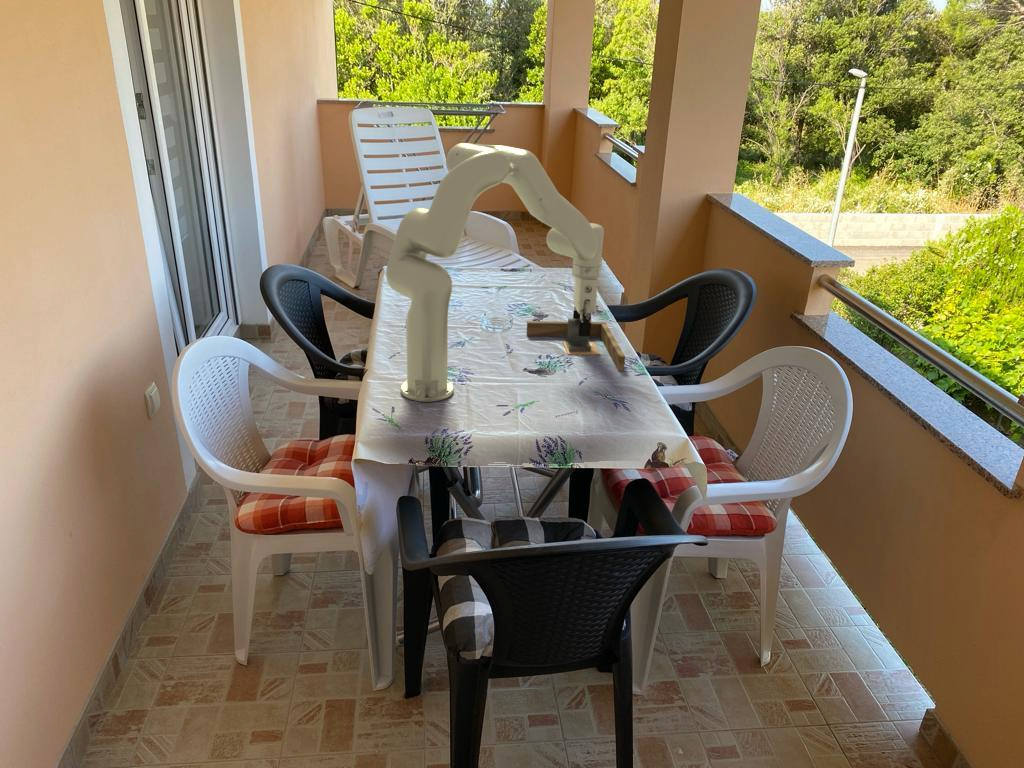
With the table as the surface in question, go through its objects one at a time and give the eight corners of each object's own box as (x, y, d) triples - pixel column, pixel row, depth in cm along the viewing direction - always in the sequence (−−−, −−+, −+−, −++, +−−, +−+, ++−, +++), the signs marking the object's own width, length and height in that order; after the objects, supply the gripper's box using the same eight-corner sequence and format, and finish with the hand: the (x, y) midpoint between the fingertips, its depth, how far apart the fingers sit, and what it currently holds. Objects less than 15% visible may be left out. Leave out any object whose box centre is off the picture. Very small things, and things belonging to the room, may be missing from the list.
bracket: (586, 343, 210) (589, 318, 206) (590, 351, 204) (592, 326, 201) (565, 343, 209) (567, 318, 206) (568, 351, 204) (571, 326, 201)
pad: (599, 355, 203) (600, 353, 203) (567, 354, 202) (567, 353, 202) (594, 343, 211) (594, 341, 211) (562, 342, 211) (562, 341, 210)
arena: (623, 370, 194) (625, 356, 192) (536, 370, 192) (537, 355, 190) (604, 335, 218) (605, 322, 216) (526, 334, 216) (527, 321, 214)
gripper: (606, 279, 192) (600, 341, 199) (594, 261, 208) (588, 319, 215) (577, 279, 192) (572, 340, 199) (567, 261, 207) (563, 319, 214)
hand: (581, 329), depth 207 cm, fingers open, 9 cm apart
